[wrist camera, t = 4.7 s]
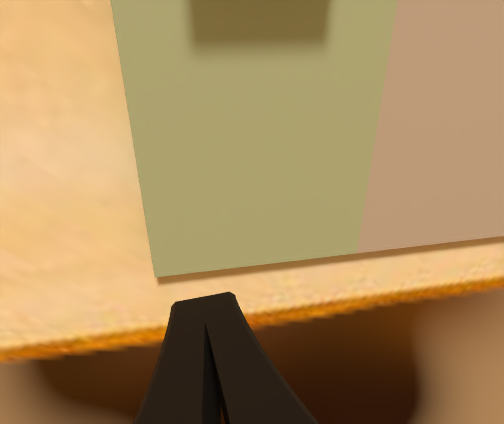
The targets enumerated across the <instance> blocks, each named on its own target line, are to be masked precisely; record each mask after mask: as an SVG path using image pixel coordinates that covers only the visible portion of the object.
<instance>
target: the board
mask: <svg viewBox="0 0 504 424" xmlns="http://www.w3.org/2000/svg"><path fill="white" fill-rule="evenodd" d="M111 6H112V12H113V18H114V25H115V31H116V37H117V44H118V50H119V56H120V62H121V69H122V75H123V81H124V87H125V94H126V100H127V106H128V112H129V119H130V125H131V131H132V138H133V144H134V150H135V156H136V163H137V169H138V175H139V181H140V188H141V194H142V200H143V207H144V213H145V219H146V225H147V232H148V238H149V244H150V250H151V257H152V263H153V269H154V275H155V277H163V276H171V275H179V274H188V273H196V272H205V271H213V270H222V269H230V268H238V267H247V266H255V265H264V264H272V263H280V262H289V261H297V260H306V259H314V258H323V257H331V256H339V255H348V254H356V253H365V252H373V251H381V250H390V249H398V248H407V247H415V246H424V245H432V244H440V243H449V242H457V241H466V240H474V239H482V238H491V237H499V236H504V0H111Z"/></svg>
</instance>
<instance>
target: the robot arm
mask: <svg viewBox="0 0 504 424" xmlns="http://www.w3.org/2000/svg"><path fill="white" fill-rule="evenodd" d="M220 403H221V407H222V411H223V416H224V420H225V424H319V423H318V421H317V420H316V419H315V418H314V417H313V416H312V414H311V413H310V412H309V411H308V409H307V408H306V407H305V406H304V404H303V403H302V402H301V401H300V400H299V398H298V397H297V396H296V394H295V393H294V392H293V390H292V389H291V388H290V387H289V385H288V384H287V382H286V381H285V380H284V378H283V377H282V375H281V374H280V373H279V371H278V370H277V369H276V367H275V366H274V364H273V363H272V361H271V360H270V358H269V357H268V355H267V354H266V352H265V351H264V349H263V348H262V346H261V345H260V343H259V342H258V340H257V338H256V337H255V335H254V333H253V332H252V330H251V328H250V326H249V325H248V323H247V321H246V319H245V317H244V315H243V313H242V311H241V309H240V307H239V305H238V302H237V300H236V297H235V295H234V294H232V293H231V292H226V293H220V294H215V295H210V296H204V297H199V298H194V299H188V300H183V301H177V302H175V303H174V304H173V305H172V307H171V312H170V317H169V322H168V326H167V330H166V334H165V337H164V341H163V344H162V347H161V351H160V354H159V357H158V360H157V363H156V365H155V368H154V371H153V374H152V377H151V380H150V383H149V385H148V388H147V391H146V393H145V396H144V398H143V401H142V403H141V406H140V408H139V410H138V413H137V415H136V418H135V420H134V422H133V424H221V407H220Z"/></svg>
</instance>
